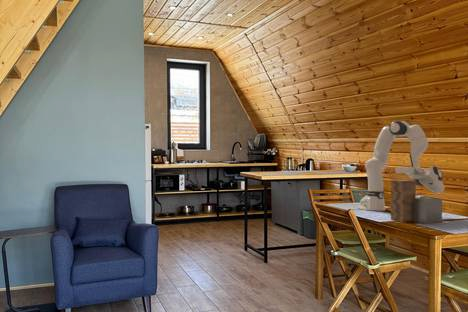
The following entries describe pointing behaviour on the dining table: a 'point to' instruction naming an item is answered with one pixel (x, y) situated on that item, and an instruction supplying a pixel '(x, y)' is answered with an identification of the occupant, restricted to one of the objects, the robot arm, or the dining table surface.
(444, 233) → the dining table surface
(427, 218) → the riser block
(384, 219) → the dining table surface
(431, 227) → the dining table surface
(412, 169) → the grey rectangular block
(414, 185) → the tall wooden cabinet
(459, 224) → the dining table surface
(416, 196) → the pneumatic valve
